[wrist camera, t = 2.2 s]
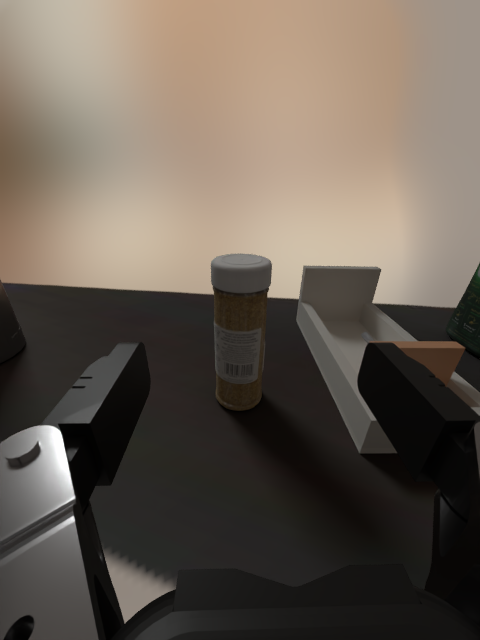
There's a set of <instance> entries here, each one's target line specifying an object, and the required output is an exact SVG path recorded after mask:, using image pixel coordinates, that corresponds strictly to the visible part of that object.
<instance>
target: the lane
mask: <svg viewBox="0 0 480 640" xmlns="http://www.w3.org/2000/svg"><path fill="white" fill-rule="evenodd" d="M380 272H381V269H380V268H378V267H351V266H304V267H303V275H302V282H301V289H300V296H299V304H298V311H297V318H296V321H297V323H298V325H299V328H300V330H301V332H302V334H303V336H304V338H305V340H306V342H307V344H308V346H309V349H310V351H311V353H312V355H313V357H314V359H315V361H316V363H317V365H318V367H319V370H320V372H321V374H322V376H323V378H324V380H325V382H326V384H327V386H328V388H329V391H330V393H331V395H332V397H333V399H334V401H335V403H336V405H337V407H338V409H339V412H340V414H341V416H342V418H343V420H344V422H345V424H346V426H347V428H348V430H349V433H350V435H351V437H352V439H353V441H354V443H355V445H356V447H357V449H358V451H359V453H397V452H396V450H395V449H394V447H393V445H392V444H391V442H390V441H389V439H388V437H387V436H386V434H385V433H384V431H383V430H382V428H381V426H380V425H379V423H378V422H377V420H376V418H375V417H374V415H373V414H372V412H371V410H370V409H369V407H368V406H367V404H366V403H365V401H364V399H363V398H362V396H361V395H360V393H359V390H358V385H357V378H358V374H359V370H360V366H361V362H362V359H363V355H364V351H365V348H366V346H367V342H366V341H365V340H364V339H363V338H362V337H361V334H362V333H363V332H368V333H369V334H370V336H371V337H372V338H373V339H374V340H375V341H417V340H416V339H415V338H413V337H412V336H411V335H410V334H409V333H407V332H406V331H405V330H404V329H403V328H401V327H400V326H399V325H398V324H397V323H395V322H394V321H393V320H392V319H391V318H389V317H388V316H387V315H386V314H385V313H383V312H382V311H381V310H380V309H379V308H377V307H376V306H375V305H374V304H373V303H372V300H373V297H374V294H375V290H376V287H377V283H378V279H379V276H380ZM446 387H449V388H450V389H451V390H452V391H453V392H454V393H455V394H456V395H457V396H458V397H460V398H461V399H462V400H463V401H464V402H465V403H466V404H467V405H468V406H470V407H471V408H472V409H473V410H474V411H475V412H476V413H477V414H478V415H479V416H480V393H479V392H478V391H477V390H476V389H475V388H473V387H472V386H471V385H470V384H469V383H467V382H466V381H465V380H464V379H463V378H461V377H460V376H459V375H458V374H457V373H455V372H453V374H452V376H451V378H450V380H449V382H448V384H447V386H446Z"/></svg>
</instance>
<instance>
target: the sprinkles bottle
mask: <svg viewBox="0 0 480 640" xmlns="http://www.w3.org/2000/svg"><path fill="white" fill-rule="evenodd" d="M271 270H272V264H271V261H270V260H269V259H267V258H265V257H262V256H257V255H251V254H227V255H222V256H218V257H216V258H214V259H213V260H212V262H211V282H212V285H213V290H214V303H215V304H214V305H215V307H214V310H215V318H214V332H215V367H216V379H217V388H216V398H217V400H218V402H219V403H220V404H221V405H222V406H224V407H225V408H227V409H230V410H236V411H243V410H248V409H251V408H253V407H254V406H255V405H257V404H258V403H259V402H260V400H261V396H262V389H261V381H262V371H263V366H264V351H265V340H264V339H265V326H266V308H267V292H268V290H269V286H270V284H271Z"/></svg>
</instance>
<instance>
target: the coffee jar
mask: <svg viewBox="0 0 480 640" xmlns="http://www.w3.org/2000/svg"><path fill="white" fill-rule="evenodd" d="M446 332H447V334H448V335H449V336H450V337H451V338H452V339H453V340H454V341H456V342H457V343H459V344H460V345H462V346H463V347H465V349H467V350H468V351H470V352H471V353H473V354H475V355H476V356H478V357H480V264H479V266H478V268H477V270H476V272H475V274H474V275H473V277H472V279H471V281H470V284H469V285H468V287H467V289H466V291H465V293H464V295H463V297H462V298H461V300H460V302H459V304H458V306H457V307H456V309H455V311H454V313H453V315H452V317H451V319H450V321H449V323H448V325H447V327H446Z"/></svg>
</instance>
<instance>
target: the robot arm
mask: <svg viewBox="0 0 480 640" xmlns="http://www.w3.org/2000/svg"><path fill="white" fill-rule="evenodd" d="M25 343H26V340H25V337H24V335H23V332H22V330H21V327H20V324H19V323H18V321H17V318H16V316H15V313H14V311H13V308H12V306H11V304H10V301H9V299H8V297H7V294H6V292H5V289H4V287H3V285H2V282H1V280H0V363H2V362H4V361H6V360H8V359H10V358H11V357H13V356H14V355H16V354H17V353H18V352H20V351H21V349H22V348H23V347H24V346H25ZM357 385H358V390H359V393H360V395H361V396H362V398H363V399H364V401H365V403H366V404H367V406H368V407H369V409H370V410H371V412H372V414H373V415H374V417H375V418H376V420H377V422H378V423H379V425H380V426H381V428H382V430H383V431H384V433H385V434H386V436H387V437H388V439H389V441H390V442H391V444H392V445H393V447H394V449H395V450H396V452H397V453H398V455H399V456H400V458H401V460H402V461H403V463H404V464H405V466H406V468H407V469H408V471H409V472H410V474H411V476H412V477H413V479H414V480H415V482H418V481H434V482H435V484H436V485H437V487H438V489H437V491H436V493H435V496H434V517H433V542H432V562H431V568H430V572H429V576H428V578H427V581H426V585H425V589H424V590H423V589H420V588H418V587H416V586H413V585H412V583H411V581H410V579H409V577H408V574H407V572H406V570H405V568H404V566H403V564H386V565H349V566H346V567H344V568H342V569H339V570H337V571H335V572H332V573H330V574H328V575H325V576H323V577H321V578H318V579H316V580H313V581H311V582H309V583H306V584H304V585H302V586H298V587H291V586H287V585H284V584H281V583H278V582H275V581H272V580H269V579H266V578H262V577H259V576H256V575H253V574H250V573H247V572H244V571H241V570H238V569H200V570H179V571H178V578H177V585H176V589H175V590H173V591H170V592H168V593H166V594H164V595H162V596H160V597H159V598H157V599H155V600H154V601H152V602H151V603H149V604H148V605H146V606H145V607H144V608H142V609H141V610H140V611H138V612H137V613H136V614H135V615H134V616H133V617H132V618H131V619H130V620H128V621H127V622H126V623H125V624H124V620H123V616H122V613H121V609H120V607H119V603H118V599H117V596H116V593H115V590H114V587H113V585H112V581H111V578H110V575H109V572H108V568H107V564H106V561H105V557H104V553H103V549H102V545H101V541H100V538H99V534H98V530H97V526H96V522H95V519H94V515H93V511H92V507H91V504H90V501H89V499H90V496H91V494H92V492H93V490H94V488H95V486H108V485H111V484H112V482H113V479H114V477H115V475H116V472H117V470H118V467H119V465H120V462H121V460H122V458H123V455H124V453H125V450H126V448H127V446H128V443H129V441H130V438H131V436H132V434H133V431H134V429H135V426H136V424H137V421H138V419H139V417H140V414H141V412H142V409H143V407H144V405H145V402H146V400H147V397H148V395H149V391H150V373H149V368H148V362H147V356H146V351H145V346H144V344H143V343H142V342H120V343H118V344H117V346H116V347H115V348H114V349H113V351H112V352H111V353H110V355H109V356H108V357H102V358H100V359H99V360H97V361H96V362H94V363H93V364H91V365H90V366H89V367H88V368H87V369H86V370H85V372H84V373H83V374H82V375H81V376H80V379H78V380H77V381H76V382H75V384H74V385H73V388H72V389H70V390H69V391H68V392H67V393H66V395H65V396H64V397H63V398H62V399H61V401H60V402H59V403H58V404H57V406H56V407H55V408H54V409H53V410H52V412H51V413H50V414H49V415H48V416H47V418H46V419H45V420H44V421H43V422H42V424H41V425H40V426H35V427H32V428H28V429H25V430H23V431H20V432H18V433H16V434H14V435H12V436H11V437H9V438H7V439H6V440H4V441H3V442H2V443H0V640H480V416H479V415H478V414H477V413H476V412H475V411H474V410H473V409H472V408H471V407H470V406H468V405H467V404H466V403H465V402H464V401H463V400H462V399H461V398H460V397H458V396H457V395H456V394H455V393H454V392H453V391H452V390H451V389H450V388H449V387H446V386H445V384H444V383H443V382H442V381H441V380H440V379H439V378H436V377H435V375H434V374H433V373H432V372H431V371H430V370H429V369H428V368H427V367H425V366H424V365H423V364H421V363H419V362H418V361H416V360H414V359H412V358H411V357H409V356H407V355H406V354H405V353H404V352H403V351H402V350H401V349H400V348H398V347H397V346H396V345H395V344H394V343H391V342H371V343H368V344H367V346H366V348H365V351H364V355H363V359H362V362H361V366H360V370H359V374H358V378H357Z"/></svg>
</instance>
